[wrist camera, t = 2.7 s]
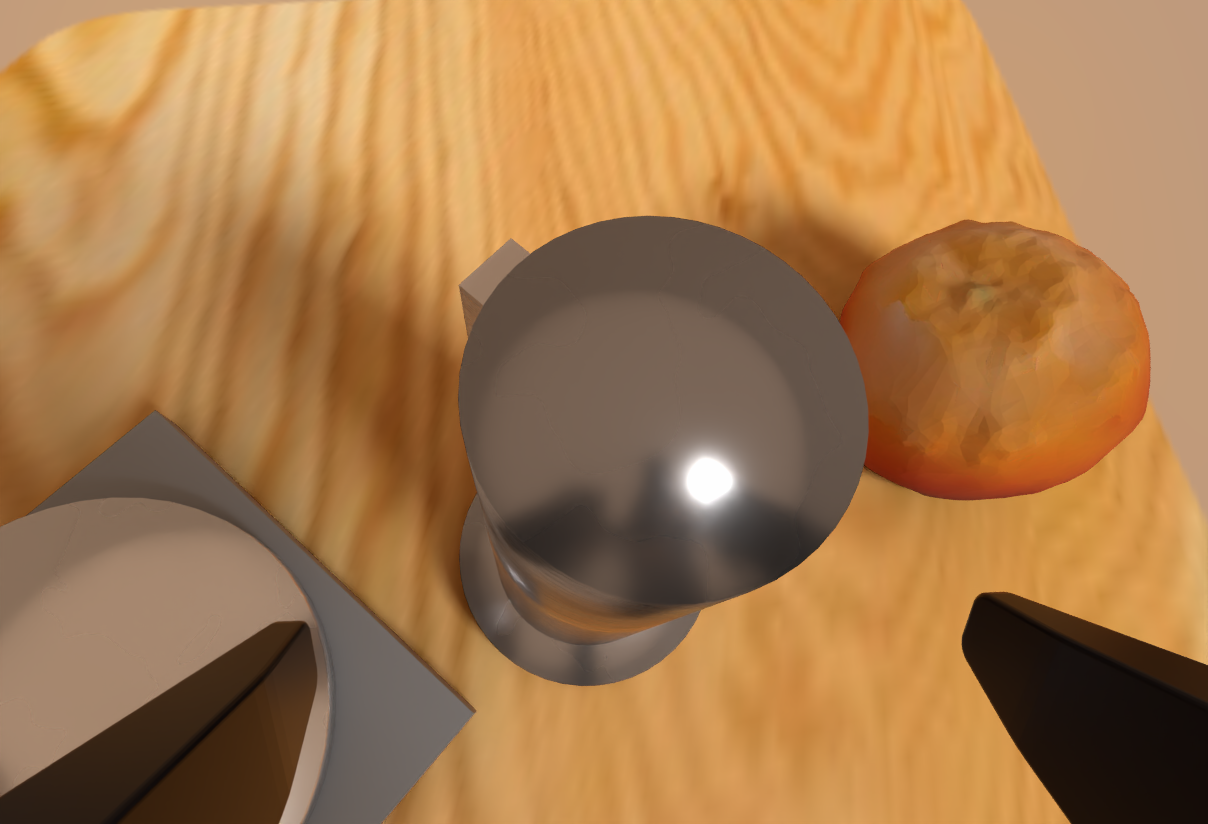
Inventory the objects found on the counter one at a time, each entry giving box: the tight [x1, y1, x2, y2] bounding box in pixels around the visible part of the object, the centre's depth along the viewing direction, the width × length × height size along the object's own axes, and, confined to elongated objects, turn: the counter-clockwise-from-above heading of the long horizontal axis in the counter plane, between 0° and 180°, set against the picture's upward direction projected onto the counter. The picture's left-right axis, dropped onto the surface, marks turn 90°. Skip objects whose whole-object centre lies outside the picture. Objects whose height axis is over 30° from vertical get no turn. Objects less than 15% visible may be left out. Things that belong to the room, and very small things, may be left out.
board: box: [26, 410, 476, 824], centre depth 17 cm, size 16×12×1 cm
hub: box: [458, 216, 869, 686], centre depth 15 cm, size 7×7×13 cm
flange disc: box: [0, 498, 336, 824], centre depth 17 cm, size 11×11×1 cm
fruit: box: [840, 220, 1150, 500], centre depth 21 cm, size 8×8×8 cm
